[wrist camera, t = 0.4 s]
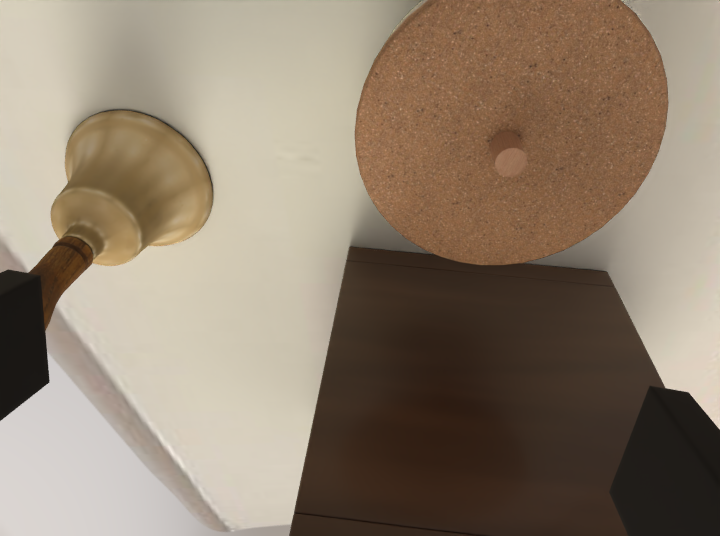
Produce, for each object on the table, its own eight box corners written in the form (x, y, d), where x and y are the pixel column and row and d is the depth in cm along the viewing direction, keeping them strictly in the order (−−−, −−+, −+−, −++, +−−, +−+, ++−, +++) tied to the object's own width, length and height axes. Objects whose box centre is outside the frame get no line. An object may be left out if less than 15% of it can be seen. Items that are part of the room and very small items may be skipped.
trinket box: (655, 8, 22) (777, 64, 15) (526, 212, 29) (565, 326, 21) (424, -94, 21) (427, -90, 14) (341, 142, 27) (310, 236, 20)
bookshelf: (349, 246, 31) (284, 558, 16) (607, 271, 30) (782, 621, 16) (340, 421, 40) (294, 720, 26) (538, 443, 39) (607, 764, 25)
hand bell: (242, 204, 30) (106, 438, 17) (144, 263, 33) (-34, 498, 20) (137, 78, 26) (-140, 251, 13) (38, 158, 30) (-264, 361, 17)
